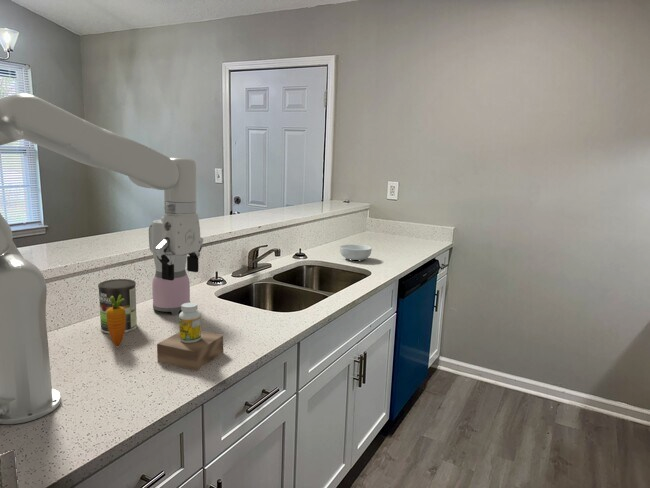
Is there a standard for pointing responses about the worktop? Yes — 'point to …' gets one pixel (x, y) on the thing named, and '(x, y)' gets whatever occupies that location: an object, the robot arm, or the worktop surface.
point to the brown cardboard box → (190, 351)
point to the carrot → (116, 321)
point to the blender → (167, 291)
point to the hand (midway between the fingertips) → (180, 275)
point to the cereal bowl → (355, 251)
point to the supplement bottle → (189, 323)
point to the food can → (115, 289)
